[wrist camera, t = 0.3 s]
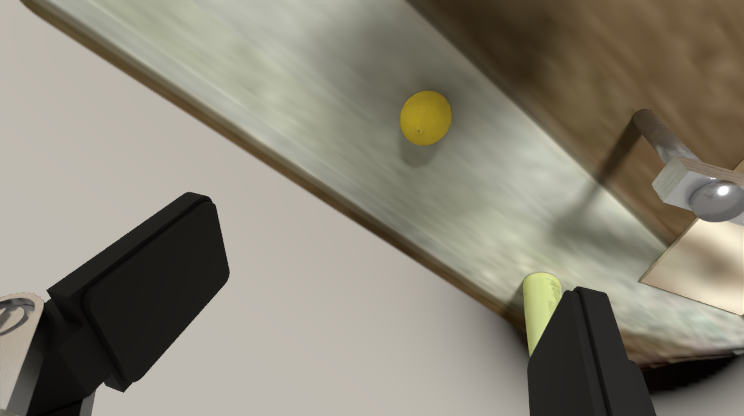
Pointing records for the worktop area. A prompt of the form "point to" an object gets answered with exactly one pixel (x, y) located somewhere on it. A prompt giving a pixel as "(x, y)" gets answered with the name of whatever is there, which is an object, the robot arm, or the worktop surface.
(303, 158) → the worktop surface
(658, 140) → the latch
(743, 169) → the holder
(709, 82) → the worktop surface
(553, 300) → the tube
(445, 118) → the lemon
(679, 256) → the pad
